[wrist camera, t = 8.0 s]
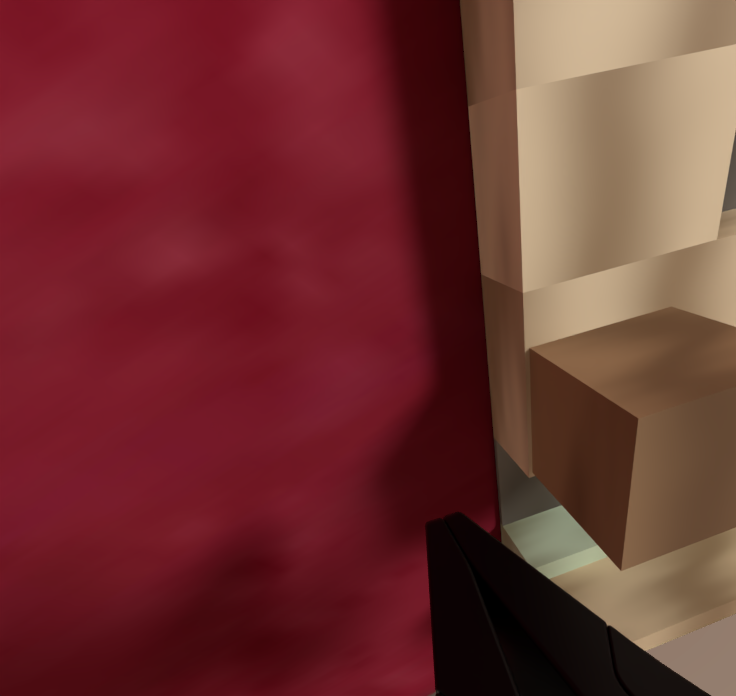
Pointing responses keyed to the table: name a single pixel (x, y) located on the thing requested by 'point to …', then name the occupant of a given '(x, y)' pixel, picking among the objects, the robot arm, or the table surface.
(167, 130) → the table surface
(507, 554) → the robot arm
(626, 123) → the trap deck
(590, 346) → the walnut block
